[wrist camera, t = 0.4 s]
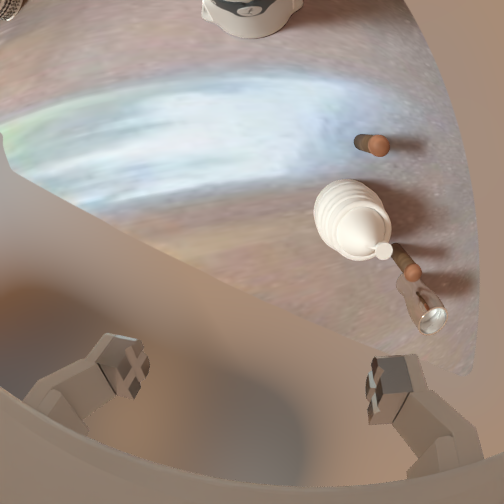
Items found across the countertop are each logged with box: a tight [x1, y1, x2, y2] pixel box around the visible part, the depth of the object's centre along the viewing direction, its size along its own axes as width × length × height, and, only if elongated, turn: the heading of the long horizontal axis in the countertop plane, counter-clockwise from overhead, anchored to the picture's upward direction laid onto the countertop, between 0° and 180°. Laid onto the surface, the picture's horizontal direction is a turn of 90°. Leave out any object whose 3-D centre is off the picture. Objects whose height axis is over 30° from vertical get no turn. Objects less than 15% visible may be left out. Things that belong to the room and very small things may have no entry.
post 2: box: [391, 243, 422, 282], centre depth 50 cm, size 3×3×12 cm
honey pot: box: [314, 179, 393, 261], centre depth 45 cm, size 13×13×18 cm
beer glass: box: [396, 273, 448, 335], centre depth 51 cm, size 7×7×15 cm
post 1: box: [354, 134, 390, 157], centre depth 42 cm, size 3×3×12 cm
